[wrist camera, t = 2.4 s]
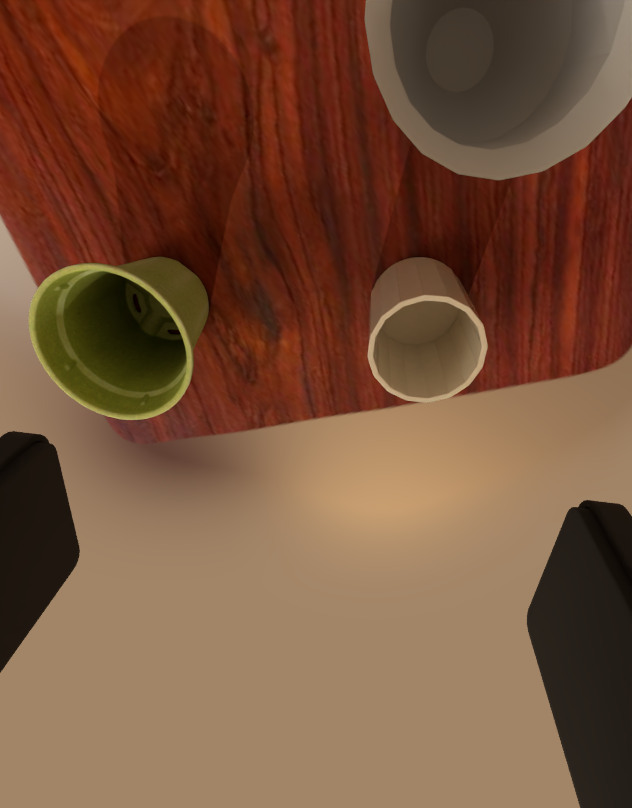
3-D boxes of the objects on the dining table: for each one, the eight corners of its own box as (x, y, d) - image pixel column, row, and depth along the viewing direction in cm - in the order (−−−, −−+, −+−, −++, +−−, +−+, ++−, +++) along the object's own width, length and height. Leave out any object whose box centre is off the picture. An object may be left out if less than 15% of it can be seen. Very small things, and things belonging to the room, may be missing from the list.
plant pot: (129, 365, 38) (69, 426, 31) (81, 241, 34) (-3, 277, 26) (245, 352, 36) (211, 413, 29) (211, 220, 32) (160, 252, 24)
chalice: (512, 116, 27) (690, 114, 12) (394, 165, 29) (415, 220, 14) (483, -44, 24) (672, -329, 9) (352, 23, 26) (318, -114, 11)
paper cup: (375, 253, 32) (375, 290, 25) (472, 260, 31) (499, 300, 25) (365, 341, 35) (363, 396, 28) (453, 349, 35) (472, 407, 28)
